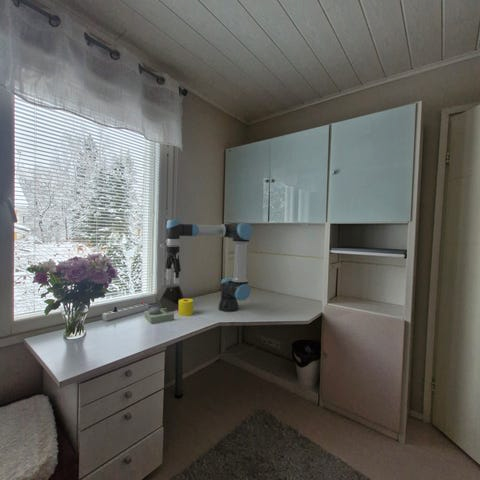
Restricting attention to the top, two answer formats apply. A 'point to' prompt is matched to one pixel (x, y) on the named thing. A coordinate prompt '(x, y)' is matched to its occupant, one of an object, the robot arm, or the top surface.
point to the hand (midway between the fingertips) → (172, 281)
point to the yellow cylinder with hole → (185, 307)
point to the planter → (169, 297)
